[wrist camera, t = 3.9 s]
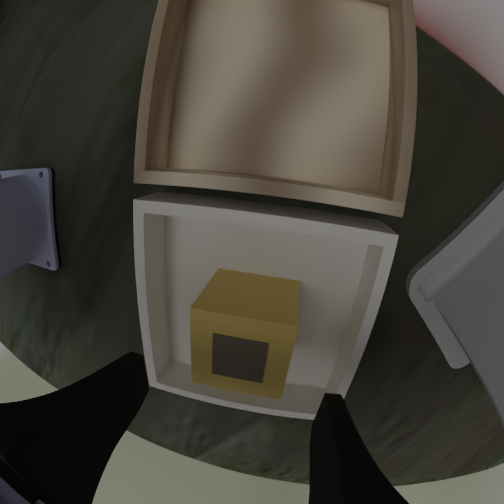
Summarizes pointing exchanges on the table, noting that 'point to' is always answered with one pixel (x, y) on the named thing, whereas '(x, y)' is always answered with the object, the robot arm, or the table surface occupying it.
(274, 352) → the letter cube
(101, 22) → the table surface
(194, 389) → the white tub
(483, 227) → the phone holder
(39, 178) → the robot arm
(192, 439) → the table surface
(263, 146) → the birch box
